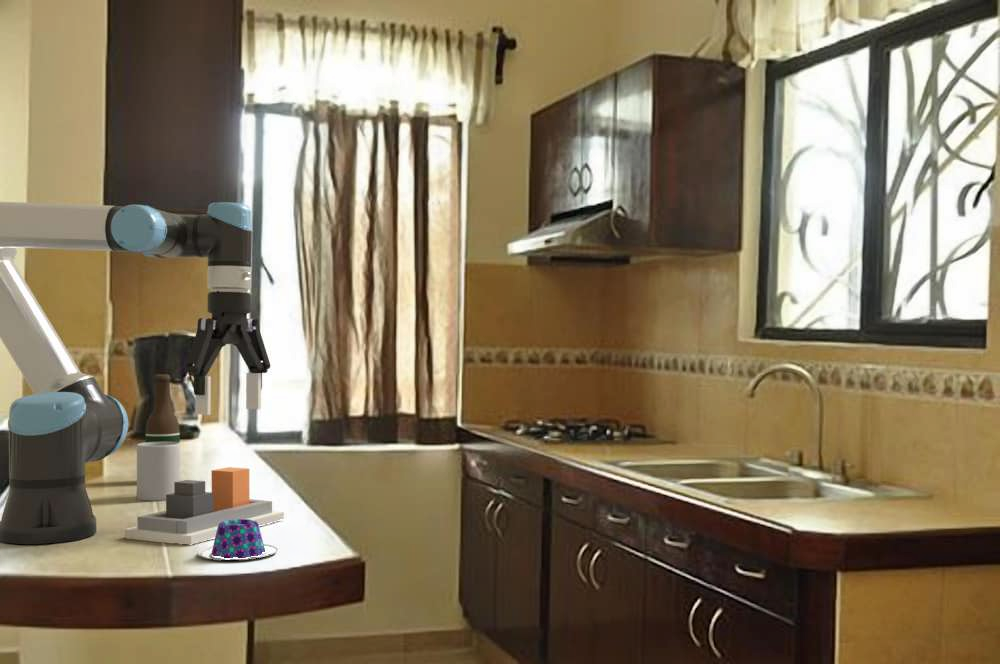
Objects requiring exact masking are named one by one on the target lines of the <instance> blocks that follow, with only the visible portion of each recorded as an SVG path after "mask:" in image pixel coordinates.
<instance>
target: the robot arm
mask: <svg viewBox="0 0 1000 664" xmlns="http://www.w3.org/2000/svg"><path fill="white" fill-rule="evenodd" d="M252 227H253V226H252V210H251V208H250V207H249V206H248V205H247V204H245V203H239V202H229V201H228V202H221V201H220V202H212V203H209V205H208V207H207V212H206V214H205V213H204V214H198V215H197V214H176V213H171V212H169V211H168V212H167V211H164V210H160V209H156V208H154V207H152V206H149V205H145V204H129V205H125V206H123V205H121V206H118V205H117V206H116V205H104V204H103V205H101V204H100V205H99V204H77V203H74V204H72V203H70V204H69V203H47V202H46V203H45V202H21V201H19V202H18V201H17V202H15V201H14V202H13V201H0V340H1V342H2V343H3V345H4V346H5V349H7V351H8V353H9V354H10V357H12V360H13V362H14V363H15V365H16V366H17V368H18V370H19V372H20V373H21V375H22V376H23V377H24V379H25V380H26V382H27V384H28V386H29V388H30V389H31V391H32V393H33V394H29V395H24V396H22V397H19V398H17V399H15V400H14V401H12V403H11V405H10V407H9V415H8V416H9V417H8V421H7V428H8V473H9V474H8V477H9V479H8V481H9V485H8V486H9V489H8V490H9V491H8V494H7V495H8V496H7V498H6V501H5V504H4V507H3V511H2V516H1V519H0V542H2V543H7V544H14V545H15V544H17V545H37V544H38V545H40V544H41V545H42V544H53V543H54V544H55V543H56V544H57V543H64V542H70V541H71V542H73V541H76V540H81V539H86V538H89V537H91V536H93V535H95V534H97V517H96V516H95V514H94V512H93V509H92V504H91V502H90V501H91V500H90V498H89V495H88V491H87V489H86V488H87V487H86V464H87V463H91V462H92V463H94V462H97V461H102V460H104V459H106V457H108V456H111V455H112V454H114V453H115V452H116V451H118V450H119V449H120V448H121V446H122V445H123V443H124V441H125V440H126V438H127V435H128V431H129V417H128V413H127V411H126V409H125V407H124V406H123V404H122V403H121V402H120V401H119V400H118V399H117V398H115V397H113V396H111V395H108V394H105V393H104V391H103V389H102V387H101V386H100V385H99V383H98V381H97V380H96V378H95V377H94V376H93V375H91V374H86V373H83V372H82V371H81V370H80V369H79V367H78V365H77V364H76V362H75V361H74V358H73V357H72V356H71V354H70V352H69V351H68V348H67V347H66V345H65V344H64V343H63V340H62V339H61V338H60V336H59V333H57V331H56V329H55V327H54V325H52V323H51V321H50V320H49V318H48V316H47V314H46V313H45V312H44V310H43V307H42V306H41V305H40V303H39V302H38V300H37V298H36V296H35V295H34V294H33V292H32V290H31V288H30V287H29V285H28V283H27V282H26V279H25V278H24V277H23V275H22V273H21V272H20V270H19V269H18V267H17V265H16V264H15V259H16V255H17V253H18V252H17V248H19V249H20V248H22V249H45V250H46V249H50V250H72V251H74V250H76V251H77V250H78V251H101V252H103V251H104V252H118V253H119V252H122V253H124V252H125V253H142V254H143V256H145V257H148V258H158V259H159V258H160V259H167V258H207V280H206V281H207V285H206V287H207V289H208V290H210V292H208V293H207V312H208V313H210V314H211V317H207V318H204V317H199V318H198V320H197V328H196V333H195V336H194V340H193V342H192V345H191V348H190V350H189V353H188V356H187V359H186V362H185V366H184V369H183V370H184V372H185V373H187V375H188V376H191V377H193V395H194V397H195V399H194V400H195V401H194V410H195V411H194V413H195V414H194V415H201V416H203V415H205V416H211V411H212V410H211V408H212V407H211V406H212V405H211V403H212V401H211V400H212V399H211V396H212V393H211V392H212V385H211V384H212V383H211V382H212V381H211V380H212V376H208V373H209V372H210V370H211V369H212V366H213V364H214V363H215V361H216V359H217V358H218V355H219V354H220V352H221V350H222V348H223V347H225V346H226V345H231V344H232V345H233V346H235V347H236V348H237V351H238V353H239V354H240V356H241V357H242V359H243V361H244V364H245V365H246V367H247V368H248V370H249V372H246V378H245V379H246V382H245V385H246V387H245V388H246V390H245V391H246V392H245V393H246V394H245V395H246V396H245V397H246V400H245V401H246V402H245V403H246V405H245V406H246V407H245V408H246V410H261V409H262V389H263V374H266V373H268V370H269V369H270V368H271V363H270V359H269V356H268V354H267V350H266V346H265V343H264V340H263V337H262V334H261V330H260V329H261V328H260V319H258V318H248V315H249V314H250V313H251V312H252V294H251V292H248V290H251V289H252V249H253V247H252V246H253V243H252V242H253V240H252V239H253V232H254V231H253V228H252Z"/></svg>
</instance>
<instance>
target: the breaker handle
mask: <svg viewBox="0 0 1000 664" xmlns="http://www.w3.org/2000/svg"><path fill="white" fill-rule="evenodd" d="M165 511H166V518H176V519H186V518H190V517H195V516H199V515H203V514H208V513H212V512H214V493H212V491H211V492H210V491H209V492H208V491H206V481H203V480H196V479H195V480H194V479H193V480H192V479H185V480H180V481H178V482H174V493H172V494H167V495H166V500H165Z"/></svg>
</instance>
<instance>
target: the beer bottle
mask: <svg viewBox="0 0 1000 664" xmlns="http://www.w3.org/2000/svg"><path fill="white" fill-rule="evenodd" d="M153 380H154V382H155V384H154V401H153V408H152V409H153V410H152V412H151V413H150V415H149V416H148V418H147V421H146V425H145V443H147V442H178V443H180V442H181V441H180V440H181V439H180V437H181V435H180V433H181V432H180V424H179V421H178V418H177V416H176V415H175V413H174V412H173V410H172V403H171V385H170V384H171V383H170V381H171V380H172V378H171V375H170V374H167V373H165V374H156V375H154V379H153ZM180 444H181V443H180Z"/></svg>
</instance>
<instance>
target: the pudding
mask: <svg viewBox="0 0 1000 664" xmlns="http://www.w3.org/2000/svg"><path fill="white" fill-rule="evenodd" d="M260 528H261V527H259V525H258V523H257V522H256V521H253V520H249V519H236V520H227V521H223V522H221V523H220V524H219V525H218V528H217V532H216V537H215V539H214V541H213V546H209V547H205V548H202V549H201V550H199V551H198V552H197V556H199V557H200V558H204V559H207V560H212V559H211V558H212V557H211V558H206V557H203V556H202V554H203V552H205V551H207V550H210V549H212V548H213V549H212V555H213V556H221V557H224V558H233V557H238V558H246V557H251V556H258V555H261V554H262V552H265V548H264V546H269V547H273V548H275V549H276V551H275V552H274V553H272V554H270V555H266V556H264V555H263V554H262V555H263V556H262V557H256V558H257V559H261V558H264V557H269V556H271V555H274V554H276V553H277V552H278V551H279V548H278V547H277V546H275V545H271V544H265V543H264V541H263V537H262V533H261V529H260ZM212 555H211V556H212ZM256 558H248V559H230V560H239V561H248V560H249V559H250V560H257V559H256ZM221 560H225V559H215V558H214V559H213V560H212V561H221Z"/></svg>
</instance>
